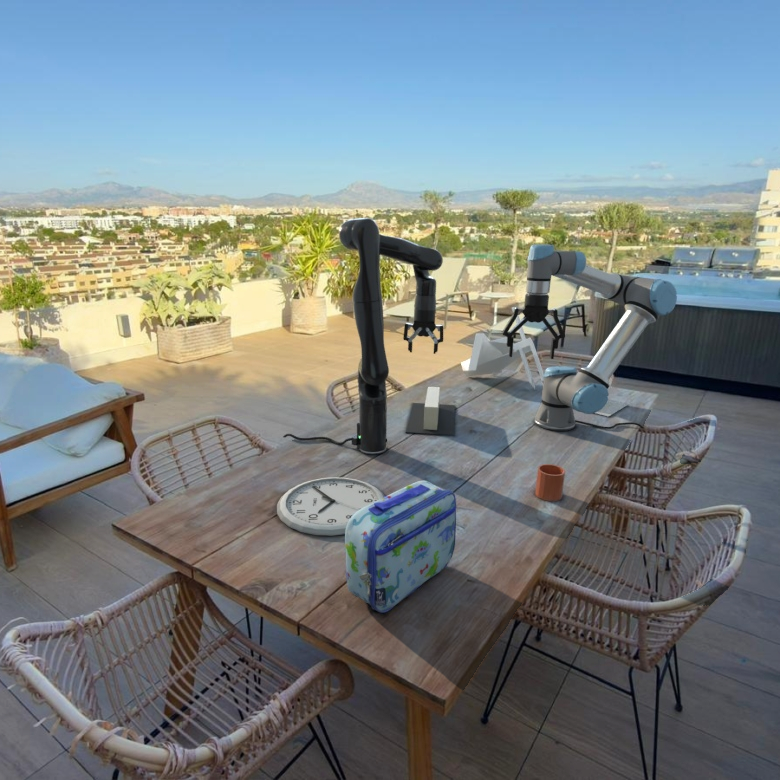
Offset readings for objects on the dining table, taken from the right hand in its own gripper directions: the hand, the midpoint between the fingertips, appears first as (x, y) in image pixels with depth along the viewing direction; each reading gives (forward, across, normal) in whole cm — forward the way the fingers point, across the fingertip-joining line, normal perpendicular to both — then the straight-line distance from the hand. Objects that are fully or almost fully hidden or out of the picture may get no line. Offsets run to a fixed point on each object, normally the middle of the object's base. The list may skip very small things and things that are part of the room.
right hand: (530, 357), depth 176 cm
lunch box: (+32, +35, +82) cm, 95 cm away
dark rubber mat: (+32, +33, -20) cm, 50 cm away
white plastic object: (+32, +2, -76) cm, 82 cm away
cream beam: (+31, +33, -20) cm, 50 cm away
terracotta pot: (+32, -3, +37) cm, 49 cm away
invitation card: (+32, -39, -47) cm, 69 cm away
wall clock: (+32, +57, +52) cm, 83 cm away
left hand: (+2, +37, -8) cm, 38 cm away
